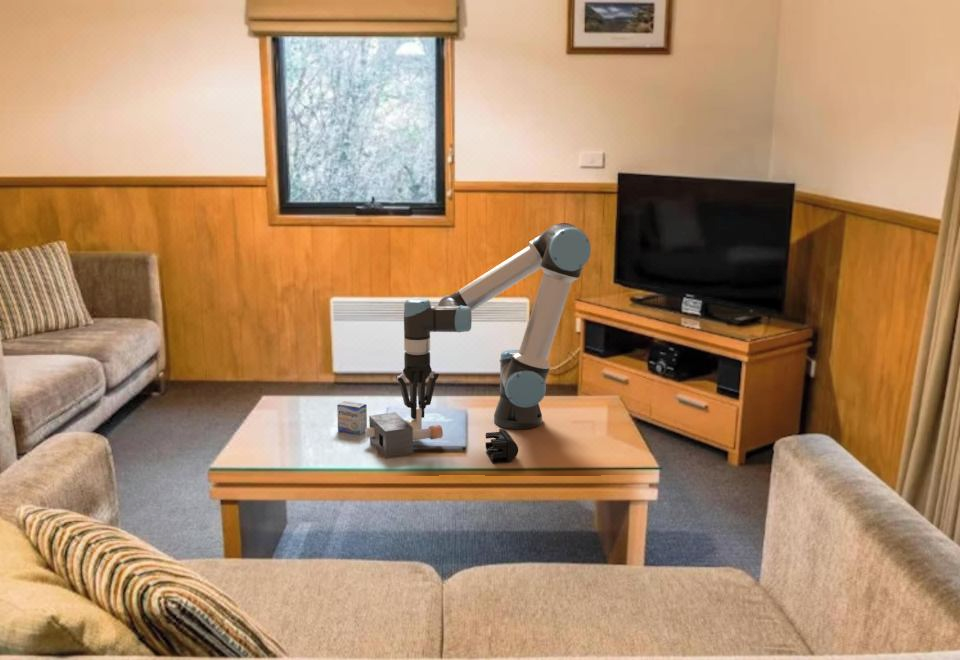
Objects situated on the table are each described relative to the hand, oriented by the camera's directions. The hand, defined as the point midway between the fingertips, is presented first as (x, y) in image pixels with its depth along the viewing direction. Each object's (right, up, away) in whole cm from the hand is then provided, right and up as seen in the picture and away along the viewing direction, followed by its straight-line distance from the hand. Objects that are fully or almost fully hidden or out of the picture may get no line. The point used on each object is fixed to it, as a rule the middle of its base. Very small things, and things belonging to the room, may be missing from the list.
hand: (417, 428), depth 254 cm
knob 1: (-7, -2, -3) cm, 8 cm away
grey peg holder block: (-7, -5, -7) cm, 11 cm away
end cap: (+25, -7, -13) cm, 29 cm away
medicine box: (-20, -2, +6) cm, 21 cm away
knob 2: (0, -3, -8) cm, 8 cm away
